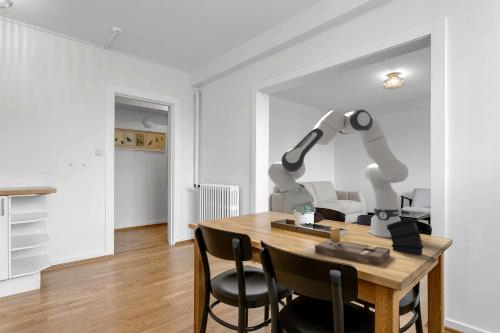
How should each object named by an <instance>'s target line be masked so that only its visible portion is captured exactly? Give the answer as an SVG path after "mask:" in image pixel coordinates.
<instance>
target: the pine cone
mask: <svg viewBox="0 0 500 333" xmlns="http://www.w3.org/2000/svg"><path fill="white" fill-rule="evenodd" d="M322 221H325V217H324V216H323V215H322V214H321V213H319V212H318V211H315V213H314V223H313V224H317V223H320V222H322Z"/></svg>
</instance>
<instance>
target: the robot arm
mask: <svg viewBox="0 0 500 333" xmlns="http://www.w3.org/2000/svg"><path fill="white" fill-rule="evenodd" d="M338 133H339V134H342V135H349V134H351V135H352V134H356V133H358V135H359V136H360V138H361V142H362V144H363V147H364V149H365V152H366V155H367V156H368V158H370V159H371V160H372V161H374V162H373V163H370V164H368V165H367V167H365V177H366V178H367V180H369V182H370V184H371V186H372V189H373V196H374V207H373V216H372V217H371V219H370V220H371V221H370V229H369V230H367V233H368V234H372V235H373V236H375V237H379V238H380V237H381V238H387V239H389V238H390V237H391V234H390V232H389V230H387V228H388V227H387V225H389V224H392V223H395V222H398V221H401V220H402V219H401V218H400V211H399V210H400V209H399V208H398V205H399V204H398V193H397V192H396V191H395V190H394V189H393V186H392V184H397V183H401V182H404V181H405V180H407V179H408V176H409V168H408V166H407V165H406V164H404V163H403V162H401V161H400V160H399V159H398V158H397V157H396V156H395V155H394V154H393V152H392V151H391V149H390V147H389V144H388V141H387V139H386V137H385V134H384V130H383V129H382V127H381V125H380V123H379V122H378V120H377V119H376V118H373V117H372V115H371V114H370V113H369V112H368V111H367V110H366V109H355V110H351V111H349V112H346V113H345V114H343V113H342V112H341V111H340V110H336V109H335V110H330V111H329V112H328V113H327V114H325V115H324V116H323V117H322V118H321V119H320V120H319V121H318V122H317V124H316V125H315V126H314V128H313V129H311V130H310V131H308V133H307V134H305V136H303V138H302V139H301V140H300V141H299V142H298V143H297V144H296V145H295V146H294V147H293V148H290V149H289V150H287V151H286V152H284V153H283V155H282V157H281V162H274V163H272V164H271V165H270V166H269V168H268V171H267V175H268V176H269V177H268V178H270V180H271V181H272V183H273V184H274V185H275V186H276V187H277V189H278V190H279V192H280V196H281V199H282V201H283V202H284V204H285V205H286V207H287V208H288V209H290V210H293V209H295V211H297V212H299V213H300V215H301V214H302V215H304V214H305V213H306V211H305V210H306V209H303V207H308V208H309V210H311V211H312V212H315V211H316V210H317V209H316V207H315V206H314V202H315V198H314V196H313V195H312V194H311V193H310V191H309V190H308V189H306V188H307V187H306V186H305V185H304V184H302V183H299V182H298V181H297V180H299V179H300V178H301V177H303V176H304V174H305V173H306V166H305V157H306V155H308V153H309V152H310V151H311V150H312V149H313V148H314V147H315V146H316V145H317V144H318V145H320V146H326V145H328V144H329V143H330V142H332V140H334V139H335V137H336V136H337V135H338ZM316 212H317V211H316Z"/></svg>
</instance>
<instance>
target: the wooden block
mask: <svg viewBox="0 0 500 333" xmlns="http://www.w3.org/2000/svg"><path fill="white" fill-rule="evenodd" d="M340 232H341V229H340V227H337V226H335V227H332V226H331V227H330V239H331V241H332V245H333V246H338V242H340V241H341V236H340V235H341V233H340Z"/></svg>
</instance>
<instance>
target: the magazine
mask: <svg viewBox="0 0 500 333" xmlns="http://www.w3.org/2000/svg"><path fill="white" fill-rule="evenodd" d="M416 221H417V220H416V219H415V218H413V216H410V217H408V218H404V219H401V221H398V222H395V223H392V224H389V225H387V227H388V228H387V230H389V232H390V234H391V237H390V240H391V241H392V244H391V246H390V247H391V248H392V250H393V251H395V252H400V253H406V254H410V255H416V256H421V255H423V249H424V245H423V243H422V238H421V230H419V228H418V226H417V223H416Z"/></svg>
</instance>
